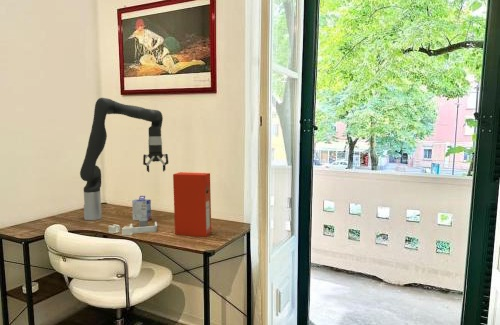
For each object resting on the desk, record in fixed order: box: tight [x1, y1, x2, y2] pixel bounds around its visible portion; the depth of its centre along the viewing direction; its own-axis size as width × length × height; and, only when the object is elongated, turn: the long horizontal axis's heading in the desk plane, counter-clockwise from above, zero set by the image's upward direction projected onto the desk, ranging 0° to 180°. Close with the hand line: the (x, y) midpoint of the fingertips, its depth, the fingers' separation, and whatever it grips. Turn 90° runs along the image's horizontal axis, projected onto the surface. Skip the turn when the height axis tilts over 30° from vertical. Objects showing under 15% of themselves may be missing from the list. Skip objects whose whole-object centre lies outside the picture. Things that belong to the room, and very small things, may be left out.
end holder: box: [129, 221, 158, 235], centre depth 181 cm, size 14×9×3 cm, turn 107°
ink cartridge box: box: [131, 195, 152, 221], centre depth 203 cm, size 10×6×14 cm, turn 78°
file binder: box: [172, 171, 212, 238], centre depth 173 cm, size 8×17×32 cm, turn 75°
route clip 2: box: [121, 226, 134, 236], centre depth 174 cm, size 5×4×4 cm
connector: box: [138, 218, 148, 227], centre depth 184 cm, size 4×11×6 cm, turn 17°
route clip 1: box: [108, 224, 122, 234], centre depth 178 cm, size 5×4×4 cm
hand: (156, 171), depth 195 cm, fingers open, 8 cm apart
